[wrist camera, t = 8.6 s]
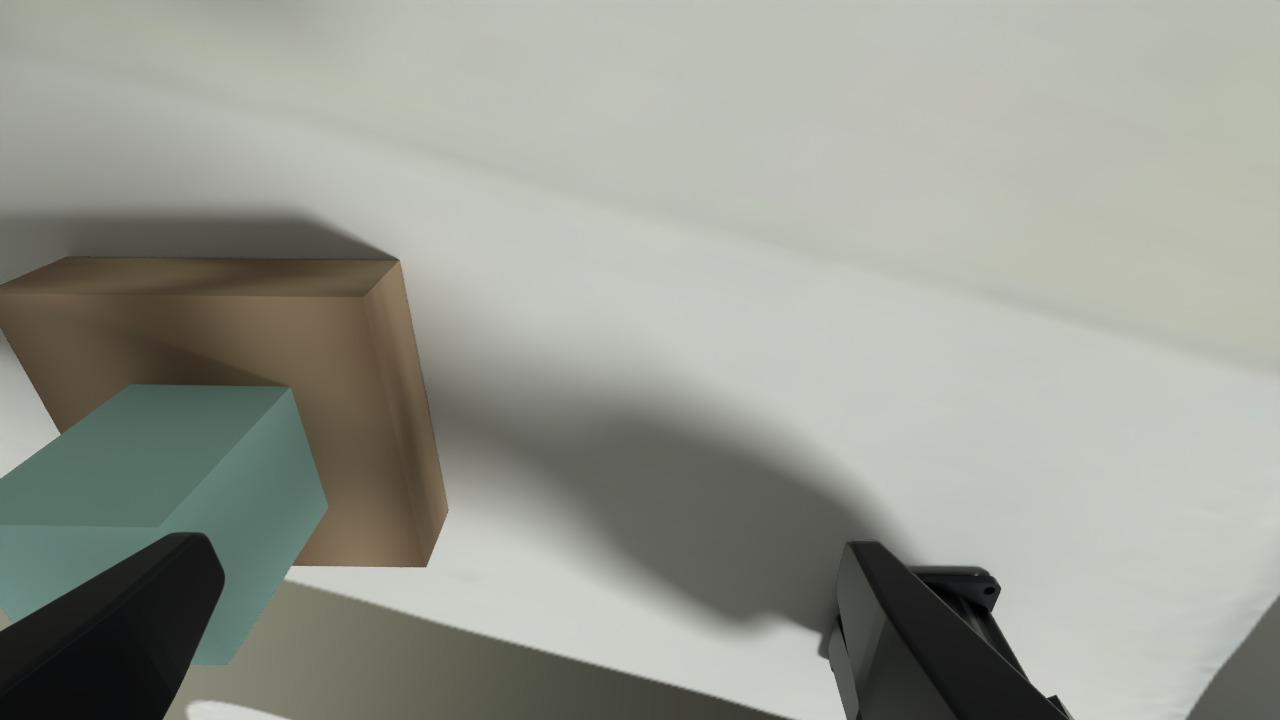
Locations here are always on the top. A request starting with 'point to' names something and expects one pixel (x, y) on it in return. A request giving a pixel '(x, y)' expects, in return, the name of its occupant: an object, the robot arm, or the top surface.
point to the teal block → (165, 498)
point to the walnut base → (256, 371)
